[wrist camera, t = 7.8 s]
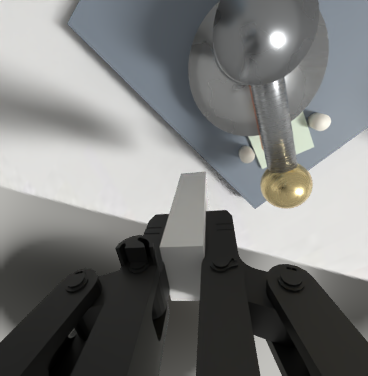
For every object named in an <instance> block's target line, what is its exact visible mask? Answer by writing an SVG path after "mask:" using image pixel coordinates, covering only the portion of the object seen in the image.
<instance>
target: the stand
mask: <svg viewBox="0 0 368 376" xmlns="http://www.w3.org/2000/svg"><path fill="white" fill-rule="evenodd" d="M219 1H220V0H80V1H79V2H78V4H77V6H76V8H75V10H74V12H73V14H72V16H71V17H70V19H69V21H68V23H67V24H68V25H69V26H70V27H71V28H72V29H73V30H74V31H75V32H76V33H77V34H78V35H79V36H80V37H81V38H82V39H83V40H84V41H85V42H86V43H87V44H88V45H89V46H90V47H91V48H92V49H93V50H94V51H95V52H96V53H97V54H98V55H99V56H100V57H101V58H102V59H103V60H104V61H105V62H106V63H107V64H108V65H109V66H110V67H111V68H112V69H113V70H115V71H116V72H117V73H118V74H119V75H120V76H121V77H122V78H123V79H124V80H125V81H126V82H127V83H128V84H129V85H130V86H131V87H132V88H133V89H134V90H135V91H136V92H137V93H138V94H139V95H140V96H141V97H142V98H143V99H144V100H145V101H146V102H147V103H148V104H149V105H150V106H151V107H152V108H153V109H154V110H155V111H156V112H157V113H158V114H159V115H160V116H161V117H162V118H163V119H164V120H165V121H166V122H167V123H168V124H169V125H170V126H171V127H172V128H173V129H174V130H175V131H176V132H177V133H178V134H180V135H181V136H182V137H183V138H184V139H185V140H186V141H187V142H188V143H189V144H190V145H191V146H192V147H193V148H194V149H195V150H196V151H197V152H198V153H199V154H200V155H201V156H202V157H203V158H204V159H205V160H206V161H207V162H208V163H209V164H210V165H211V166H212V167H213V168H214V169H215V170H216V171H217V172H218V173H219V174H220V175H221V176H222V177H223V178H224V179H225V180H226V181H227V182H228V183H229V184H230V185H231V186H232V187H233V188H234V189H235V190H236V191H237V192H238V193H239V194H240V195H241V196H242V197H243V198H245V199H246V200H247V201H248V202H249V203H250V204H251V205H252V206H253V207H254V208H255V209H256V208H257V207H258V206H260V205H261V204H263V203H264V202H265V201H267V200H266V199H265V198H264V196H263V194H262V192H261V188H260V182H261V178H262V175H263V173H264V172H265V171H266V169H267V164H266V159H265V155H264V150H263V149H262V147H261V142H260V137H259V135H258V136H239V135H234V134H231V133H227V132H225V131H223V130H221V129H219V128H218V127H216V126H214V125H213V124H212V123H211V122H210V121H208V120H207V118H206V117H205V116H204V115H203V114H202V113H201V111H200V110H199V108H198V106H197V105H196V103H195V101H194V98H193V95H192V93H191V89H190V84H189V76H188V63H189V55H190V50H191V46H192V43H193V40H194V37H195V34H196V32H197V30H198V28H199V26H200V24H201V23H202V21H203V20H204V18H205V17H206V15H207V14H208V13H209V11H210V10H211V9H212V8H213V7H214V6H215V5H216V4H217V3H218V2H219ZM318 2H319V10H320V12H321V14H322V17H323V19H324V21H325V25H326V28H327V32H328V39H329V55H328V63H327V67H326V71H325V75H324V77H323V80H322V83H321V85H320V87H319V89H318V91H317V93H316V95H315V96H314V98H313V99H312V101H311V102H310V103H309V105H308V106H307V107H306V108H305V109H304V110H303V111H302V112H301V113H300V115H299V116H297V117H296V118H295V119H294V120H292V121H291V124H292V131H293V138H294V144H295V151H296V158H297V163H298V164H300V165H302V166H303V167H305V168H306V169H307V171H308V170H310V169H311V168H312V167H314V166H315V165H316V164H318V163H319V162H321V161H322V160H323V159H325V158H326V157H328V156H329V155H330V154H332V153H333V152H334V151H336V150H337V149H339V148H340V147H341V146H343V145H344V144H345V143H347V142H348V141H350V140H351V139H352V138H354V137H355V136H357V135H358V134H359V133H361V132H362V131H363V130H365V129H366V128H368V0H318Z"/></svg>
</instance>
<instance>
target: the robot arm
mask: <svg viewBox="0 0 368 376" xmlns="http://www.w3.org/2000/svg"><path fill="white" fill-rule="evenodd" d="M116 251H117V254H118V257H119V260H120V263H121V268H120V270H119V271H116V272H113V273H109V274H106V275H102V276H98V275H97V273H96V271H94V270H92V269H81V270H77V271H75V272H74V273H71V274H69V275H68V276H67V277H66V278H64V279H63V280H62V281H61V282H60V283H59V284H58V285H57V286H56V287H55V288H54V289H53V290H52V291H51V292H50V293H49V294H48V295H47V296H46V297H45V298H44V299H43V300H42V301H41V302H40V303H39V304H38V305H37V306H36V307H35V308H34V309H33V310H32V311H31V312H30V313H29V314H28V315H27V317H25V318H24V319H23V320H22V321H21V322H20V323H19V324H18V325H17V326H16V327H15V328H14V329H13V330H12V331H11V332H10V333H9V334H8V335H7V336H6V337H5V338H4V339H3V340H2V341H1V342H0V376H159V372H160V366H161V360H162V354H163V348H164V342H165V337H166V331H167V325H168V318H169V307H168V298H169V293H170V296H171V301H200V304H199V326H198V346H197V366H196V376H260V371H259V365H258V359H257V353H256V347H255V341H254V335H256V336H258V337H261V338H264V339H266V341H267V343H268V346H269V348H270V350H271V352H272V354H273V357H274V359H275V361H276V363H277V365H278V368H279V370H280V372H281V374H282V376H368V342H367V341H366V339H365V338H364V337H363V336H362V335H361V334H360V332H359V331H358V330H357V329H356V328H355V326H354V325H353V324H352V323H351V322H350V321H349V319H348V318H347V317H346V316H345V315H344V313H343V312H342V311H341V310H340V309H339V307H338V306H337V305H336V304H335V303H334V302H333V300H332V299H331V298H330V297H329V296H328V294H327V293H326V292H325V291H324V290H323V289H322V287H321V286H320V285H319V284H318V283H317V282H316V280H315V279H314V278H313V277H312V276H311V275H310V274H309V273H307V271H305V270H303V269H301V268H299V267H297V266H293V265H289V264H282V265H277V266H274V267H272V268H271V269H270V270H269V271H268V272H266V271H262V270H258V269H255V268H252V267H250V266H248V265H246V264H245V263H244V262H243V261H242V260H241V259H240V257H239V255H238V251H237V244H236V238H235V232H234V225H233V219H232V215H231V214H230V213H229V212H228V211H227V210H221V211H209V201H208V190H207V179H206V172H197V173H184V174H181V176H180V180H179V183H178V186H177V190H176V193H175V196H174V200H173V203H172V207H171V210H170V213H169V214H159V215H155V216H154V217H153V218H152V219H151V220H150V221H149V223H148V225H147V229H146V230H145V232H144V235H143V236H142V235H138V236H132V237H130V238H127V239H125V240H123V241H122V242H121V243H119V245H118V246H117V247H116ZM74 328H75V330H74V331H73V332H72V333H71V334H70V332H71V331H72V330H73V329H74ZM69 334H70V335H69ZM68 335H69V336H68Z"/></svg>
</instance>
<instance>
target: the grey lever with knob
mask: <svg viewBox="0 0 368 376" xmlns="http://www.w3.org/2000/svg"><path fill="white" fill-rule="evenodd" d="M328 55H329V39H328V32H327V28H326V25H325V21H324V19H323V17H322V14H321V12H320V10H319V2H318V0H220V1H219V2H218V3H217V4H216V5H215V6H214V7H213V8H212V9H211V10H210V11H209V13H208V14H207V15H206V17H205V18H204V20H203V21H202V23H201V24H200V26H199V28H198V30H197V32H196V34H195V37H194V40H193V43H192V46H191V50H190V55H189V63H188V76H189V84H190V89H191V93H192V95H193V98H194V101H195V103H196V105H197V106H198V108H199V110H200V111H201V113H202V114H203V115H204V116H205V117H206V118H207V120H208V121H210V122H211V123H212V124H213V125H214V126H216V127H218V128H219V129H221V130H223V131H225V132H227V133H231V134H234V135H239V136H258V135H259V137H260V142H261V147H262V149H263V150H264V155H265V159H266V164H267V169H266V171H265V172H264V173H263V175H262V178H261V182H260V188H261V192H262V194H263V196H264V198H265V199H266V200H267V201H268V202H269V203H270V204H272V205H274V206H276V207H279V208H293V207H297V206H299V205H301V204H302V203H304V202H305V201H306V200H307V199H308V197H309V196H310V194H311V191H312V186H313V183H312V178H311V175H310V173H309V172H308V171H307V169H306V168H305V167H303V166H302V165H300V164H298V163H297V158H296V151H295V144H294V138H293V131H292V124H291V121H292V120H294V119H295V118H296V117H297V116H299V115H300V113H301V112H302V111H303V110H304V109H305V108H306V107H307V106H308V105H309V103H310V102H311V101H312V99H313V98H314V96H315V95H316V93H317V91H318V89H319V87H320V85H321V83H322V80H323V77H324V75H325V71H326V67H327V63H328Z"/></svg>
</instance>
